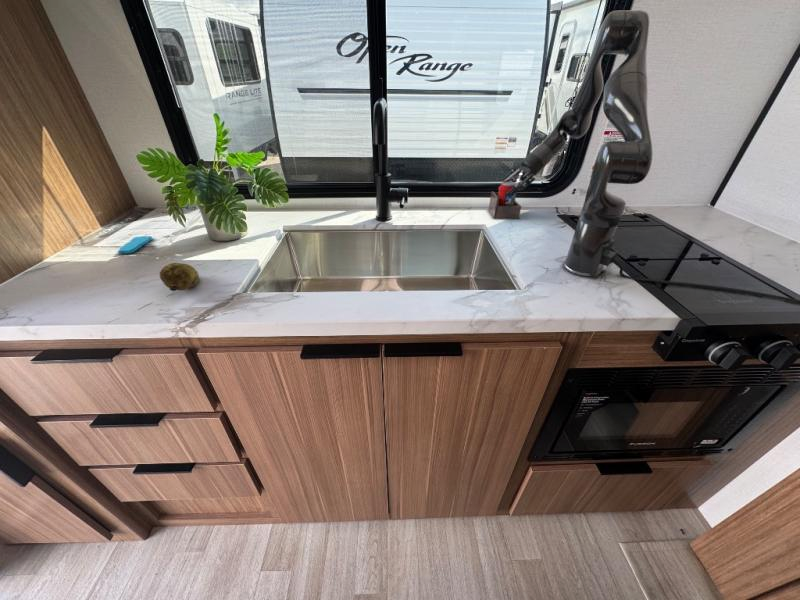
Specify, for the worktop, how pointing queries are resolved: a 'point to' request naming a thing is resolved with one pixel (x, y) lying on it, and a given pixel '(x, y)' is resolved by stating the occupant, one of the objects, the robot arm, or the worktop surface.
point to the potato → (179, 276)
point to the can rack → (503, 209)
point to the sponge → (134, 244)
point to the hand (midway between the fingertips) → (503, 192)
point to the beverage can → (503, 197)
